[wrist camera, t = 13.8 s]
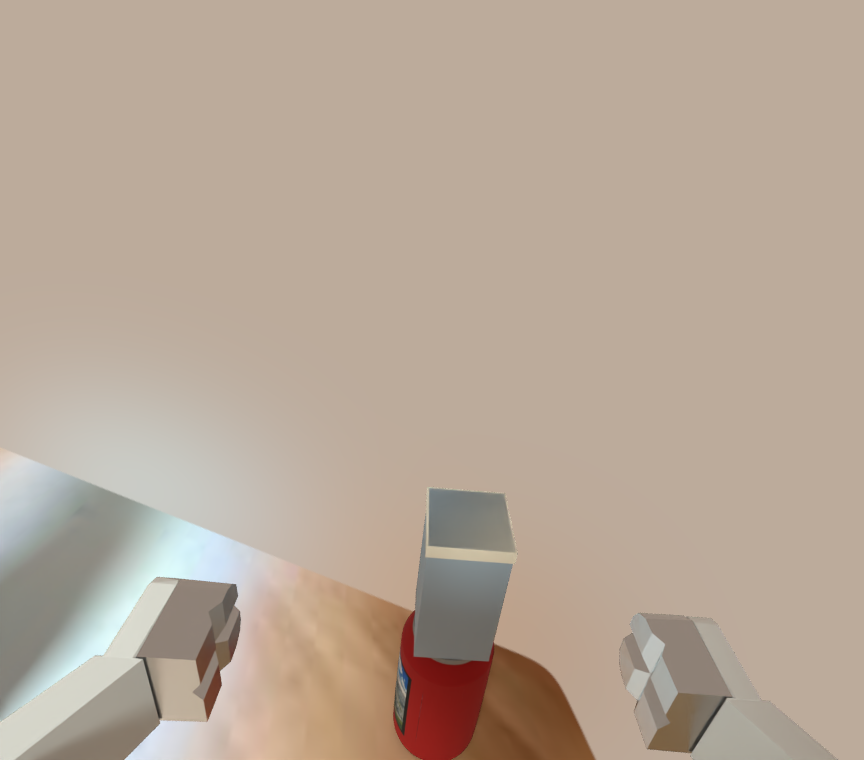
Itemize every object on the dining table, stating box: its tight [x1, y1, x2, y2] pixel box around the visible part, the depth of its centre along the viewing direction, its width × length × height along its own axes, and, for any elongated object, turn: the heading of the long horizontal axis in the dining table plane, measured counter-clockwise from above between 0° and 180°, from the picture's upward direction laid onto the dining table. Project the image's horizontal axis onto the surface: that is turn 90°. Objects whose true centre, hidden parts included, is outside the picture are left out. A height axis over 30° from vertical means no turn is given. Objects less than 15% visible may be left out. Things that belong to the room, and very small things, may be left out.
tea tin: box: [414, 487, 518, 661], centre depth 32 cm, size 5×5×10 cm
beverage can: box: [393, 611, 494, 760], centre depth 37 cm, size 7×7×12 cm
